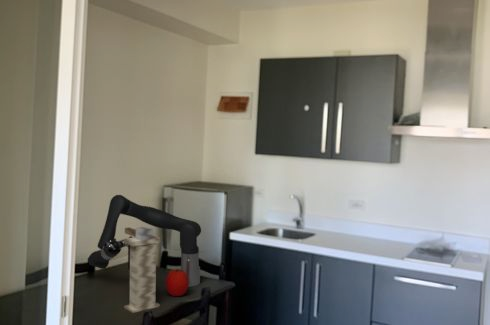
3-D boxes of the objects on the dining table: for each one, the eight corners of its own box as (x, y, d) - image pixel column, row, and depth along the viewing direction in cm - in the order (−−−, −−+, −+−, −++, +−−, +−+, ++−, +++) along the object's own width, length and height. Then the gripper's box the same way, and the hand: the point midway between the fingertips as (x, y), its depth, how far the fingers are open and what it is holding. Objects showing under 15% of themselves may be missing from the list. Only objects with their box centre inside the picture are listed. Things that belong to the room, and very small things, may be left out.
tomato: (176, 289, 265) (177, 264, 264) (193, 295, 257) (194, 269, 256) (159, 295, 256) (159, 268, 255) (176, 300, 248) (176, 273, 247)
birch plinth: (150, 301, 246) (151, 235, 244) (159, 306, 240) (160, 238, 238) (123, 307, 237) (124, 238, 235) (132, 312, 231) (132, 241, 229)
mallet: (132, 232, 250) (132, 221, 250) (152, 239, 235) (152, 228, 235) (121, 233, 246) (121, 223, 246) (141, 240, 232) (141, 229, 231)
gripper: (95, 245, 259) (108, 233, 247) (122, 241, 268) (135, 230, 257) (99, 259, 256) (111, 248, 245) (125, 255, 265) (138, 244, 254)
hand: (123, 239), depth 251 cm, fingers open, 8 cm apart
